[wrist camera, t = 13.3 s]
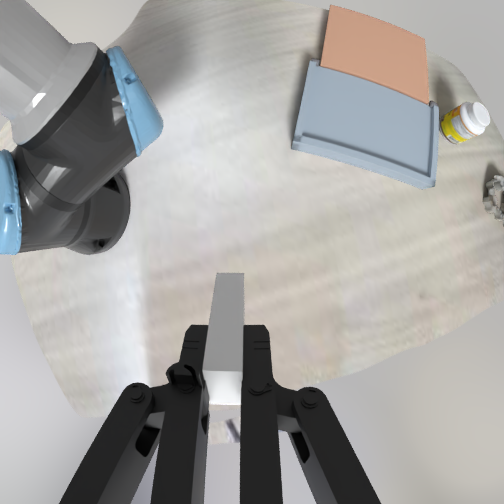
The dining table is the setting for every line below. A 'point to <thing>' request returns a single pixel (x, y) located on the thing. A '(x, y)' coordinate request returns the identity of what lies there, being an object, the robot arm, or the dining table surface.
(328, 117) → the blue-grey tray
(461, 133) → the supplement bottle
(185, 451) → the robot arm
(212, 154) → the dining table surface
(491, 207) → the egg carton
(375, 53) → the panel
